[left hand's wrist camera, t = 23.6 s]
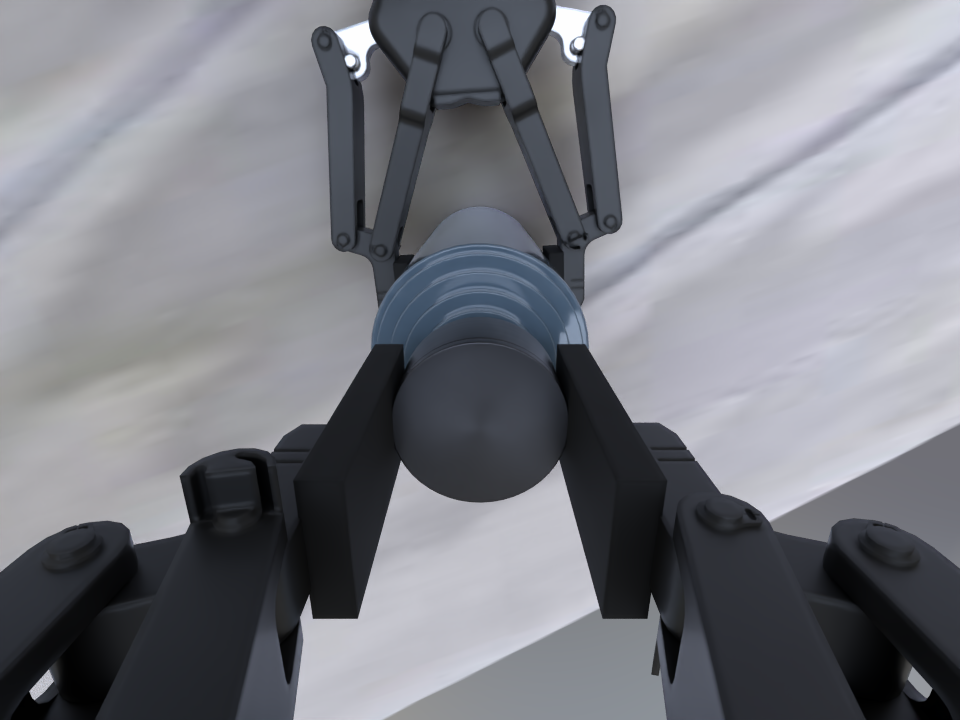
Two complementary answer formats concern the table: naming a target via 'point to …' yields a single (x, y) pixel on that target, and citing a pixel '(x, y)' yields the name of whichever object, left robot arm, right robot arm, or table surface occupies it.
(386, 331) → the bottle
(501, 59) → the right robot arm
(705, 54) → the table surface
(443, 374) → the cap
